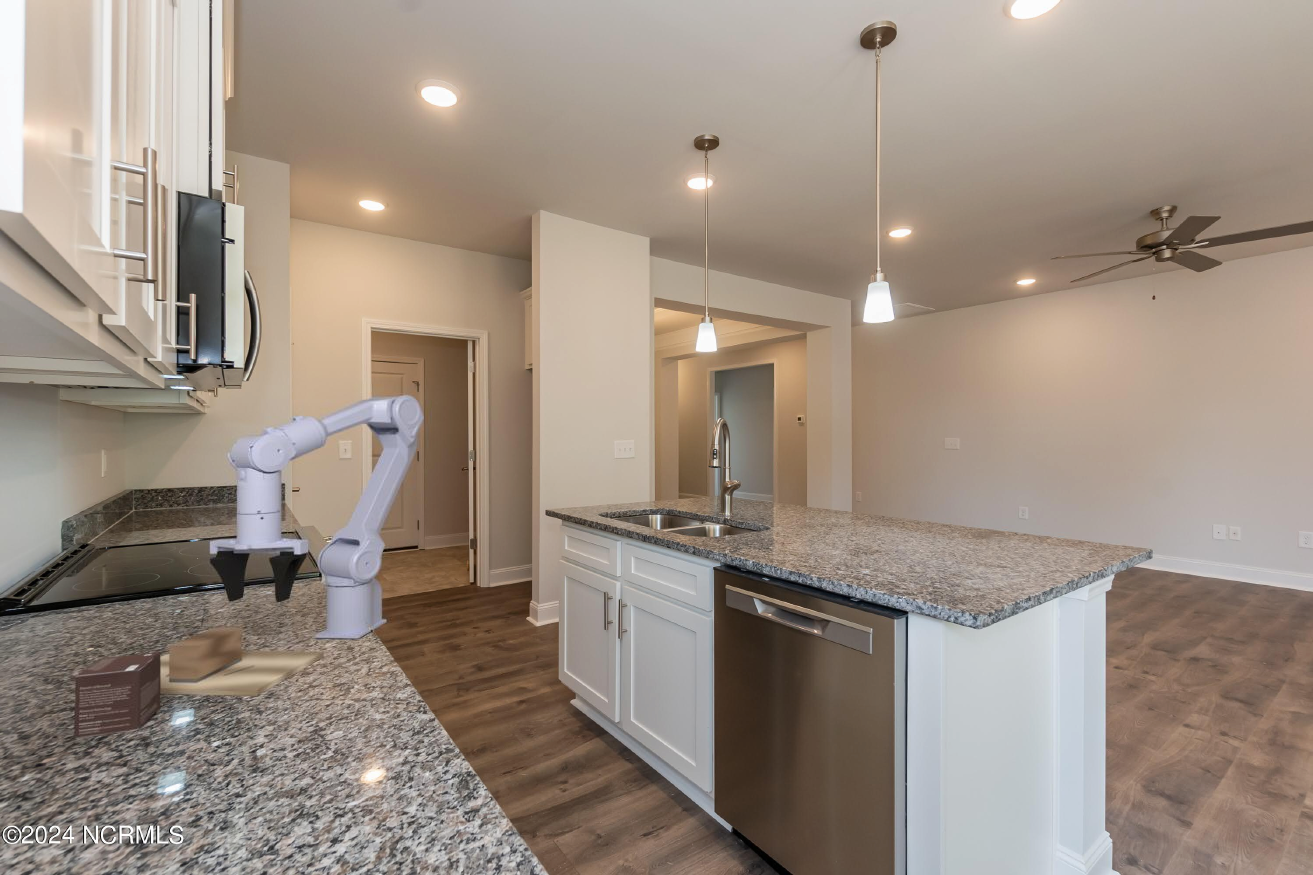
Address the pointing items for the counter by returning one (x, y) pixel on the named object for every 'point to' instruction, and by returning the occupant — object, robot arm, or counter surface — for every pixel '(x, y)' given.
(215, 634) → the sanding block
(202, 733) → the counter surface
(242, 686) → the board
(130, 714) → the box
